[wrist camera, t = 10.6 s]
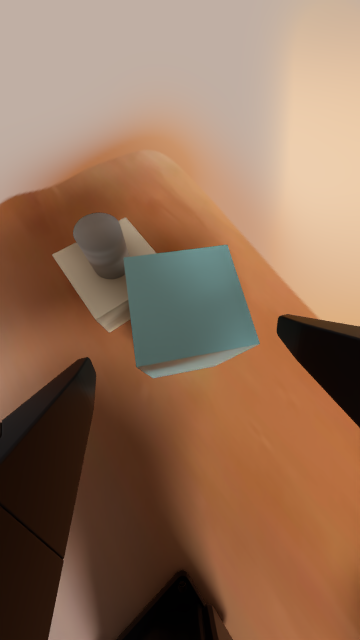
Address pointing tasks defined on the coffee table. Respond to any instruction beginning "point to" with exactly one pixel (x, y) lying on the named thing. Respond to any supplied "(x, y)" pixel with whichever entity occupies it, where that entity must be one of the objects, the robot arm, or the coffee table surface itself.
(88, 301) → the post pedestal
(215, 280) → the teal square top
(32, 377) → the coffee table surface
